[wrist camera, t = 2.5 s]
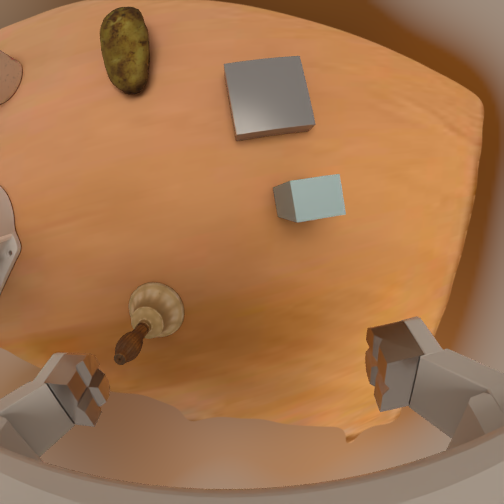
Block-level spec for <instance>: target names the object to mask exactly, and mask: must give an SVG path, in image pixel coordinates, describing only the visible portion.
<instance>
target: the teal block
mask: <svg viewBox="0 0 504 504" xmlns="http://www.w3.org/2000/svg"><path fill="white" fill-rule="evenodd" d="M273 191H274V197H275V203H276V209H277V214H278V217H280V218H283V219H287V220H290V221H293V222H303V221H309V220H315V219H321V218H327V217H333V216H339V215H345V214H346V212H345V206H344V199H343V193H342V187H341V181H340V175H339V174H336V175H328V176H321V177H314V178H307V179H300V180H293V181H289V182H286V183H283V184H281V185H278V186H276V187H273Z"/></svg>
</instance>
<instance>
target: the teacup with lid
mask: <svg viewBox="0 0 504 504" xmlns="http://www.w3.org/2000/svg"><path fill="white" fill-rule="evenodd" d="M21 77H22V66H21V64H20V63H19V62H18V61H17V60H15V59H14V58H12V57H10V56H9V55H7V54H5V53H4V52H2V51H1V50H0V104H2V103H4V102H5V101H7V100H8V99H9V98H10V97H11V96H12V95H13V94H14V92H15V91H16V89H17V88H18V86H19V83H20V81H21Z"/></svg>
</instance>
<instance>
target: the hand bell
mask: <svg viewBox="0 0 504 504" xmlns="http://www.w3.org/2000/svg"><path fill="white" fill-rule="evenodd" d="M129 313H130V317H131V324H132V327H133V329H134V330H133V331H132V332H128V333H126V334H125V335H123V336H122V337H121V338H120V340H119V341H118V343H117V345H116V349H115V356H114V360H115V362H116V363H117V364H119V365H123V364H125V363H126V362H129V361H131V360H133V359H135V358H136V357H137V356H138V354H139V353H140V351H141V348H142V344H143V338H155V337H165V336H168V335H171V334H173V333H174V332H175V331H177V330H178V329H179V327H180V326H181V324H182V322H183V318H184V307H183V303H182V301H181V299H180V297H179V296H178V294H177V293H176V292H175V291H174V290H173V289H172V288H170V287H169V286H167V285H164V284H162V283H157V282H150V283H146V284H143V285H141V286H139V287H138V288H137V289H136V290H135V291H134V292H133V293H132V295H131V297H130V301H129Z"/></svg>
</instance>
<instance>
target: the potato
mask: <svg viewBox="0 0 504 504" xmlns="http://www.w3.org/2000/svg"><path fill="white" fill-rule="evenodd" d="M100 42H101V51H102V55H103V60H104V64H105V68H106V71H107V74H108V76H109V78H110V80H111V82H112V83H113V84H114V85H115V86H116V87H117V88H118V89H120V90H121V91H123V92H124V93H126V94H136V93H139V92H140V91H141V90H142V89H143V87H144V86H145V84H146V82H147V78H148V63H149V40H148V30H147V27H146V25H145V23H144V19H143V16H142V14H141V12H140V11H139V10H138V9H136V8H134V7H121V8H117V9H115V10H113V11H111V12H110V13H109V14H108V15H107V16H106V17H105V18H104V20H103V22H102V25H101V29H100Z"/></svg>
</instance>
